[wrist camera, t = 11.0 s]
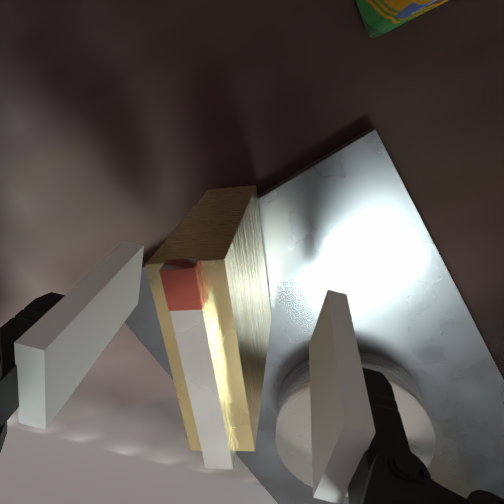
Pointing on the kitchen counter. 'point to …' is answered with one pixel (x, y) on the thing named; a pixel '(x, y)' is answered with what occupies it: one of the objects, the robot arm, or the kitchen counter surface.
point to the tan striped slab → (216, 320)
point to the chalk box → (391, 13)
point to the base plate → (364, 324)
